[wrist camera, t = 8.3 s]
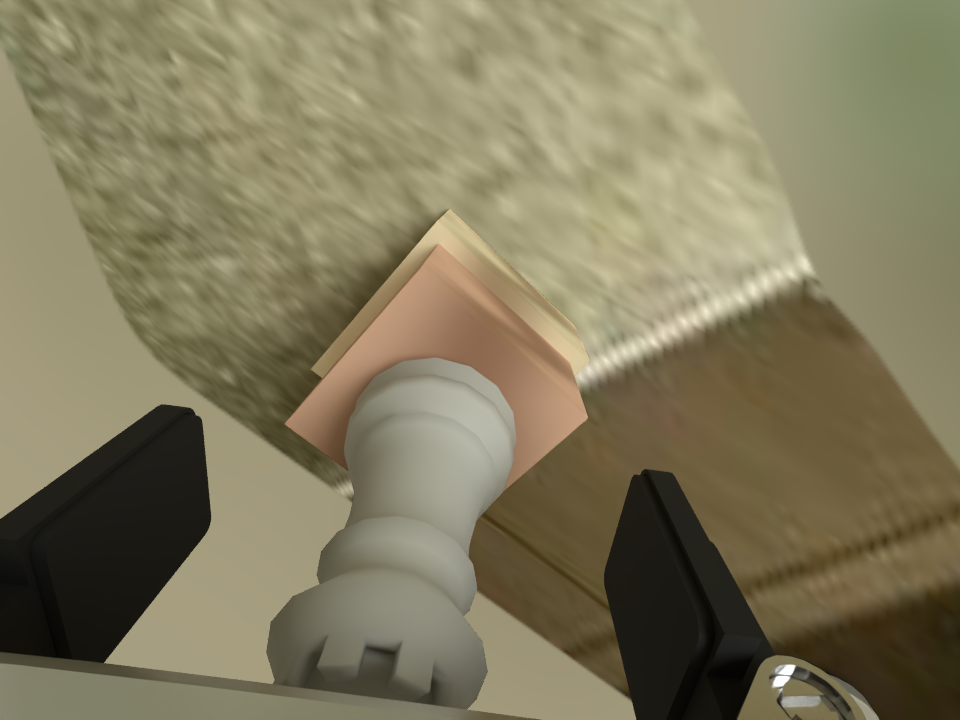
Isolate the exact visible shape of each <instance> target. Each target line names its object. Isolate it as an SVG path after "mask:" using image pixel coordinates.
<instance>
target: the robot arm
mask: <svg viewBox="0 0 960 720" xmlns="http://www.w3.org/2000/svg"><path fill="white" fill-rule="evenodd" d="M202 425H203V424H202V419H201V418H200V417H199V416H196V415H195V412H194V411H193V409H191V408H187V407H180V406H172V405H160V406H157V407H156V408H155V409H153V410H152V411H150V412H149V413H148V414H146V415H145V416H143V417H142V418H141V419H139V420H138V421H136V422H135V423H134V424H132V425H131V426H130V427H128V428H127V429H125V430H124V431H123V432H121V433H120V434H118V435H117V436H116V437H114V438H113V439H111V440H110V441H109V442H107V443H106V444H104V445H103V446H102V447H100V448H99V449H98V450H96V451H95V452H93V453H92V454H90V455H89V456H88V457H86V458H85V459H83V460H82V461H81V462H79V463H78V464H77V465H75V466H74V467H72V468H71V469H70V470H68V471H67V472H65V473H64V474H63V475H61V476H60V477H58V478H57V479H56V480H54V481H53V482H51V483H50V484H49V485H48V486H46V487H44V488H43V489H42V490H40V491H39V492H37V493H36V494H35V495H33V496H32V497H31V498H29V499H28V500H26V501H25V502H23V503H22V504H21V505H19V506H18V507H16V508H15V509H14V510H12V511H11V512H9V513H8V514H7V515H5V516H4V517H3V518H1V519H0V720H538V719H531V718H523V717H516V716H509V715H502V714H494V713H487V712H480V711H471V710H465V709H458V708H450V707H443V706H435V705H428V704H421V703H413V702H406V701H398V700H390V699H383V698H375V697H367V696H360V695H352V694H344V693H337V692H329V691H321V690H313V689H306V688H298V687H290V686H282V685H274V684H266V683H258V682H251V681H243V680H236V679H227V678H219V677H210V676H202V675H195V674H187V673H178V672H170V671H163V670H154V669H145V668H138V667H130V666H121V665H113V664H106V663H104V662H105V661H106V659H107V658H108V657H109V655H110V654H111V653H112V652H113V650H114V649H115V648H116V647H117V645H118V644H119V643H120V642H121V640H122V639H123V638H124V637H125V635H126V634H127V633H128V632H129V630H130V629H131V628H132V626H133V625H134V624H135V623H136V621H137V620H138V619H139V618H140V616H141V615H142V614H143V613H144V611H145V610H146V609H147V607H148V606H149V605H150V604H151V603H152V601H153V600H154V599H155V597H156V596H157V595H158V594H159V592H160V591H161V590H162V588H163V587H164V586H165V585H166V583H167V582H168V581H169V579H171V577H172V576H173V575H174V573H175V572H176V571H177V570H178V568H179V567H180V566H181V564H182V563H183V562H184V561H185V560H186V558H187V557H188V556H189V554H190V553H191V552H192V551H193V549H194V548H195V547H196V546H197V544H198V543H199V542H200V541H201V539H202V538H203V537H204V536H205V534H206V533H207V531H208V529H209V526H210V522H211V511H210V499H209V489H208V477H207V467H206V456H205V445H204V435H203V426H202ZM604 585H605V590H606V594H607V598H608V602H609V607H610V611H611V615H612V619H613V623H614V628H615V632H616V636H617V640H618V644H619V649H620V653H621V657H622V661H623V665H624V670H625V674H626V678H627V682H628V686H629V690H630V695H631V699H632V703H633V707H634V711H635V716H636V720H879V719H878V716H877V715H876V714H875V712H874V711H873V709H872V708H871V706H870V705H869V704H868V702H867V701H866V699H865V698H864V696H863V695H861V694H860V693H859V692H858V691H857V690H856V689H855V688H853V687H852V686H851V685H849V684H847V683H846V682H844V681H842V680H840V679H838V678H836V677H834V676H831V675H828V674H826V673H825V672H823V671H822V670H821V669H819V668H817V667H815V666H813V665H811V664H809V663H807V662H805V661H803V660H800V659H796V658H793V657H790V656H776V655H775V653H774V651H773V649H772V648H771V646H770V644H769V642H768V640H767V638H766V637H765V635H764V633H763V631H762V629H761V628H760V626H759V624H758V622H757V620H756V618H755V617H754V615H753V613H752V611H751V609H750V608H749V606H748V604H747V602H746V600H745V598H744V597H743V595H742V593H741V591H740V589H739V588H738V586H737V584H736V582H735V580H734V578H733V577H732V575H731V573H730V571H729V569H728V568H727V566H726V564H725V562H724V560H723V558H722V557H721V555H720V553H719V551H718V549H717V548H716V547H715V545H714V544H713V543H712V542H710V541H709V539H708V537H707V535H706V533H705V531H704V530H703V528H702V526H701V524H700V522H699V520H698V519H697V517H696V515H695V513H694V511H693V509H692V507H691V506H690V504H689V502H688V500H687V498H686V496H685V495H684V493H683V491H682V489H681V487H680V485H679V483H678V482H677V480H676V478H675V476H674V475H673V474H672V473H670V472H663V471H656V470H648V469H645V470H643V471H642V472H641V475H634V476H633V477H632V479H631V482H630V486H629V489H628V493H627V496H626V500H625V503H624V506H623V510H622V513H621V517H620V520H619V523H618V527H617V530H616V534H615V537H614V540H613V544H612V547H611V551H610V554H609V557H608V561H607V564H606V568H605V573H604Z"/></svg>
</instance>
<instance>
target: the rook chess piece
mask: <svg viewBox="0 0 960 720" xmlns="http://www.w3.org/2000/svg"><path fill="white" fill-rule="evenodd" d="M516 441H517V440H516V431H515V423H514V414H513V411H512V410H511V408H510V406H509V405H508V403H507V401H506V400H505V398H504V396H503V395H502V393H501V392H500V390H499V388H498V387H497V386H496V385H495V384H494V383H492V382H491V381H490V380H488V379H487V378H485V377H484V376H483V375H481V374H480V373H479V372H477V371H476V370H474V369H473V368H472V367H470V366H467V365H463V364H459V363H455V362H452V361H448V360H444V359H440V358H427V359H418V360H408V361H402V362H400V363H398V364H397V365H395V366H393V367H391V368H389V369H387V370H385V371H384V372H382V373H380V374H378V375H376V376H375V377H374V378H373V379H372V381H371V382H370V383H369V385H368V386H367V387H366V388H365V390H364V391H363V392H362V394H361V395H360V396H359V398H358V399H357V402H356V407H355V411H354V412H353V413H352V415H351V416H350V419H349V424H348V429H347V434H346V440H345V445H344V455H345V459H346V463H347V467H348V470H349V474H350V478H351V482H352V486H353V489H354V493H355V494H354V498H353V502H352V507H351V511H350V516H349V518H348V521H347V523H346V525H345V528H344V529H342V530H340V531H338V532H337V533H336V535H335V536H334V537H333V538H332V539H331V540H330V542H329V543H328V544H327V545H326V546H325V548H324V549H323V550H322V551H321V555H320V560H319V566H318V571H317V577H318V580H319V583H320V584H319V585H317V586H315V587H313V588H311V589H308V590H306V591H304V592H302V593H299V594H297V595H295V596H293V597H292V598H291V600H289V602H288V603H287V604H286V605H285V606H284V607H283V609H282V610H281V611H280V612H279V613H278V614H277V616H276V617H275V618H274V619H273V620H272V621H271V625H270V632H269V638H268V645H267V651H266V652H267V656H268V659H269V662H270V666H271V669H272V672H273V676H274V679H275V681H274V683H273V684H274V685H282V686H290V687H298V688H306V689H313V690H321V691H329V692H337V693H344V694H352V695H360V696H367V697H375V698H383V699H390V700H398V701H406V702H413V703H421V704H428V705H435V706H443V707H450V708H458V709H465V710H467V709H468V708H469V707H470V706H471V705H472V703H473V702H474V701H475V700H476V699H477V696H478V694H479V692H480V689H481V687H482V684H483V682H484V679H485V677H486V674H487V672H488V671H487V666H486V660H485V654H484V648H483V643H482V640H481V639H480V637H479V636H478V635H477V633H476V632H475V631H474V630H473V628H472V627H471V626H470V624H469V623H468V622H467V621H466V619H465V618H464V617H463V616H464V615H465V614H466V613H467V612H468V611H469V610H470V607H471V604H472V602H473V599H474V596H475V593H476V591H477V584H476V579H475V573H474V567H473V564H472V562H471V561H470V559H469V558H468V554H469V544H470V541H471V537H472V534H473V530H474V526H475V523H476V520H477V519H478V518H479V517H480V516H481V515H482V514H483V513H484V512H485V511H486V510H487V509H488V508H489V506H490V505H491V504H492V503H493V502H494V501H495V500H496V499H497V498H498V497H499V496H500V495H501V494H502V492H503V490H504V487H505V485H506V482H507V480H508V477H509V474H510V471H511V468H512V465H513V463H514V460H515V457H514V447H515V444H516Z"/></svg>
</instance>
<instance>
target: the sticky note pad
mask: <svg viewBox="0 0 960 720" xmlns="http://www.w3.org/2000/svg"><path fill="white" fill-rule="evenodd" d="M427 358H440V359H444V360H448V361H452V362H455V363H459V364H463V365H467V366H470V367H472V368H473V369H474V370H476V371H477V372H479V373H480V374H481V375H483V376H484V377H485V378H487V379H488V380H490V381H491V382H492V383H494V384H495V385H496V386H497V387H498V388H499V390H500V392H501V393H502V395H503V396H504V398H505V400H506V401H507V403H508V405H509V406H510V408H511V410H512V411H513V414H514V423H515V431H516V440H517V441H516V444H515V447H514V457H515V460H514V463H513V465H512V468H511V471H510V474H509V477H508V480H507V482H506V485H505V487H504V490H505V489H507V488H508V487H509V486H510V485H511V484H512V483H514V482H515V481H516V480H517V479H518V478H519V477H520V476H522V475H523V474H524V473H525V472H526V471H527V470H529V469H530V468H531V467H532V466H533V465H534V464H536V463H537V462H538V461H539V460H540V459H541V458H542V457H544V456H545V455H546V454H547V453H548V452H549V451H551V450H552V449H553V448H554V447H555V446H556V445H557V444H559V443H560V442H561V441H562V440H563V439H564V438H566V437H567V436H568V435H569V434H570V433H571V432H573V431H574V430H575V429H576V428H577V427H578V426H579V425H581V424H582V423H583V422H584V421H585V420H586V419H588V416H587V413H586V410H585V407H584V404H583V401H582V398H581V395H580V392H579V389H578V386H577V383H576V380H575V377H574V376H575V375H577V374H578V373H579V372H580V371H581V370H582V369H583V368H584V367H585V366H586V365H588V364H589V363H590V360H589V358H588V355H587V353H586V351H585V348H584V346H583V344H582V342H581V339H580V337H579V335H578V332H577V330H576V328H575V326H574V325H573V324H572V323H571V322H570V321H569V320H568V319H567V318H566V317H565V316H564V315H562V314H561V313H560V312H559V311H558V310H557V309H556V308H555V307H554V306H553V305H552V304H551V303H550V302H549V301H548V300H546V299H545V298H544V297H543V296H542V295H541V294H540V293H539V292H538V291H537V290H536V289H535V288H534V287H533V286H532V285H530V284H529V283H528V282H527V281H526V280H525V279H524V278H523V277H522V276H521V275H520V274H519V273H518V272H517V271H516V270H514V269H513V268H512V267H511V266H510V265H509V264H508V263H507V262H506V261H505V260H504V259H503V258H502V257H501V256H500V255H498V254H497V253H496V252H495V251H494V250H493V249H492V248H491V247H490V246H489V245H488V244H487V243H486V242H485V241H484V240H482V239H481V238H480V237H479V236H478V235H477V234H476V233H475V232H474V231H473V230H472V229H471V228H470V227H469V226H468V225H466V224H465V223H464V222H463V221H462V220H461V219H460V218H459V217H458V216H457V215H456V214H455V213H454V212H453V211H452V210H450V209H449V210H448V211H447V212H446V213H445V214H444V215H443V216H442V217H441V218H440V219H439V220H438V221H437V222H436V223H435V224H434V225H433V226H432V228H431V229H430V230H429V231H428V232H427V233H426V235H425V236H424V237H423V238H422V239H421V240H420V242H419V243H418V244H417V245H416V246H415V247H414V249H413V250H412V251H411V252H410V253H409V254H408V256H407V257H406V258H405V259H404V260H403V262H402V263H401V264H400V265H399V266H398V267H397V269H396V270H395V271H394V272H393V273H392V274H391V276H390V277H389V278H388V279H387V280H386V281H385V283H384V284H383V285H382V286H381V287H380V288H379V290H378V291H377V292H376V293H375V294H374V296H373V297H372V298H371V299H370V300H369V301H368V303H367V304H366V305H365V306H364V307H363V308H362V310H361V311H360V312H359V313H358V314H357V315H356V317H355V318H354V319H353V320H352V321H351V322H350V324H349V325H348V326H347V327H346V328H345V330H344V331H343V332H342V333H341V334H340V335H339V337H338V338H337V339H336V340H335V341H334V342H333V344H332V345H331V346H330V347H329V348H328V349H327V351H326V352H325V353H324V354H323V355H322V356H321V358H320V359H319V360H318V361H317V362H316V364H315V365H314V366H313V367H312V368H311V370H312V371H313V372H315V373H316V374H317V375H319V376H320V377H321V378H322V379H321V380H320V382H319V383H318V384H317V385H316V386H315V388H314V389H313V390H312V391H311V392H310V394H309V395H308V396H307V397H306V399H305V400H304V401H303V402H302V403H301V405H300V406H299V407H298V408H297V409H296V411H295V412H294V413H293V414H292V416H291V417H290V418H289V419H288V420H287V422H286V423H285V425H286V426H288V427H289V428H290V429H292V430H293V431H295V432H296V433H297V434H299V435H300V436H301V437H303V438H304V439H305V440H307V441H308V442H309V443H311V444H312V445H314V446H315V447H316V448H318V449H319V450H320V451H322V452H323V453H324V454H326V455H327V456H328V457H330V458H331V459H333V460H334V461H335V462H337V463H338V464H339V465H341V466H342V467H343V468H345V469H346V470H347V471H349V470H348V467H347V463H346V459H345V455H344V445H345V440H346V434H347V429H348V424H349V419H350V416H351V415H352V413H353V412H354V411H355V407H356V402H357V399H358V398H359V396H360V395H361V394H362V392H363V391H364V390H365V388H366V387H367V386H368V385H369V383H370V382H371V381H372V379H373V378H374V377H375V376H376V375H378V374H380V373H382V372H384V371H385V370H387V369H389V368H391V367H393V366H395V365H397V364H398V363H400V362H402V361H408V360H418V359H427ZM504 490H503V491H504Z"/></svg>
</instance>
